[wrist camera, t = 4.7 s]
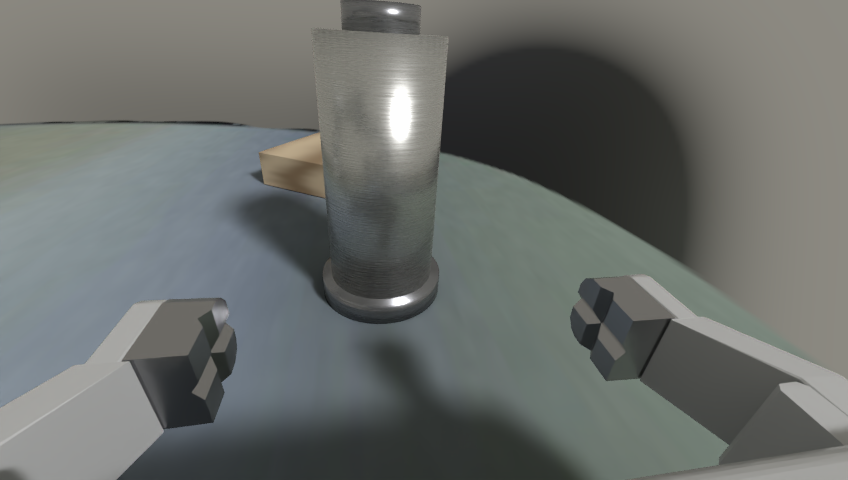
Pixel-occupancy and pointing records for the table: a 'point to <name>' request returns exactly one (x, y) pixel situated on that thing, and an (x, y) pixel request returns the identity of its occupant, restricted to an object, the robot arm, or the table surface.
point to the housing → (380, 158)
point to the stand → (295, 166)
